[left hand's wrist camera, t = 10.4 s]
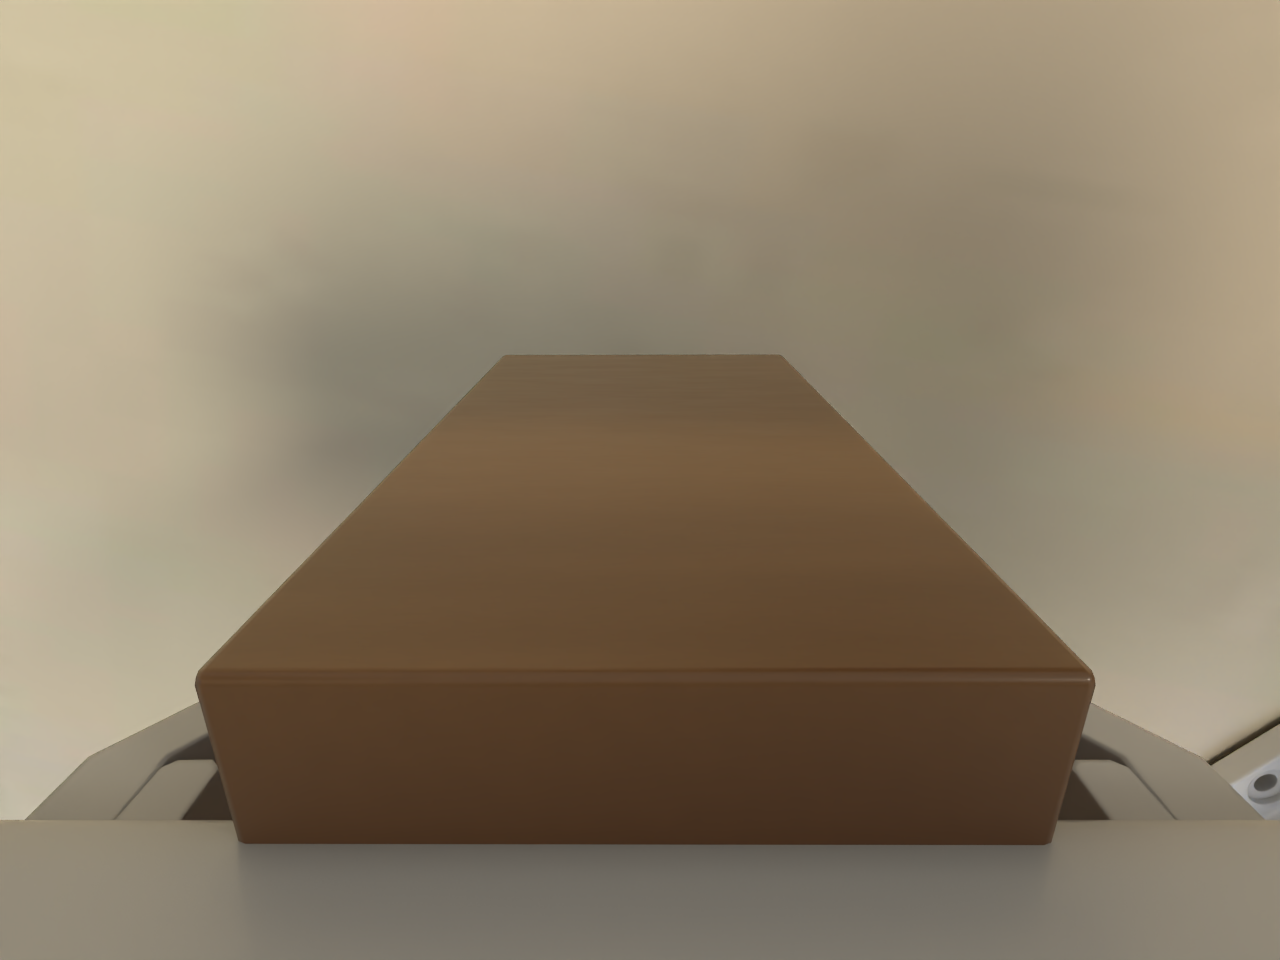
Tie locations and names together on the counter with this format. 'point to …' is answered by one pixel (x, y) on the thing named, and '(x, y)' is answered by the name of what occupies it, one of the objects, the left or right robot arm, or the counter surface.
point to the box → (644, 636)
